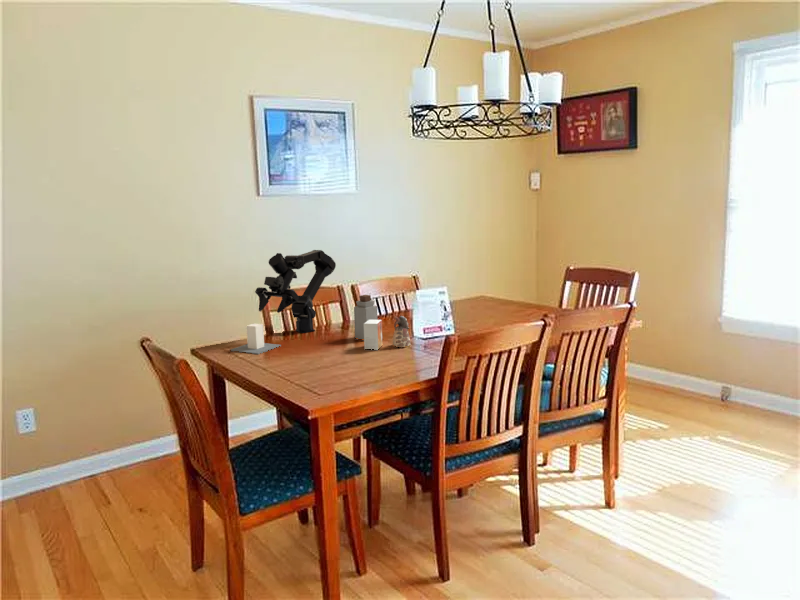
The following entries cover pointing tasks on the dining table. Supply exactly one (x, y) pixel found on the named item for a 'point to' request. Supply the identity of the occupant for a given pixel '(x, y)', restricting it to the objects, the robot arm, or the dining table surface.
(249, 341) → the pale block
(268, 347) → the charcoal mat
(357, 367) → the dining table surface
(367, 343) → the small box
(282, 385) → the dining table surface
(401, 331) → the figurine
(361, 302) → the grey bottle
